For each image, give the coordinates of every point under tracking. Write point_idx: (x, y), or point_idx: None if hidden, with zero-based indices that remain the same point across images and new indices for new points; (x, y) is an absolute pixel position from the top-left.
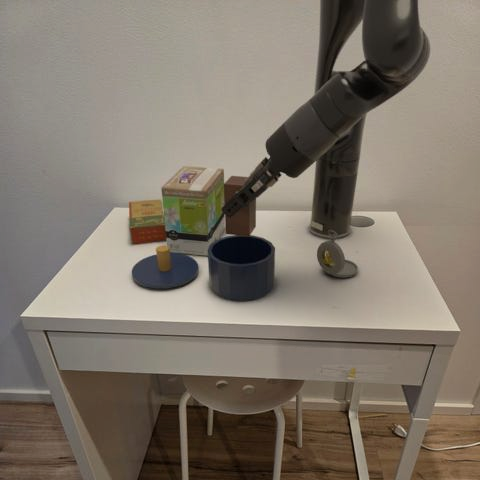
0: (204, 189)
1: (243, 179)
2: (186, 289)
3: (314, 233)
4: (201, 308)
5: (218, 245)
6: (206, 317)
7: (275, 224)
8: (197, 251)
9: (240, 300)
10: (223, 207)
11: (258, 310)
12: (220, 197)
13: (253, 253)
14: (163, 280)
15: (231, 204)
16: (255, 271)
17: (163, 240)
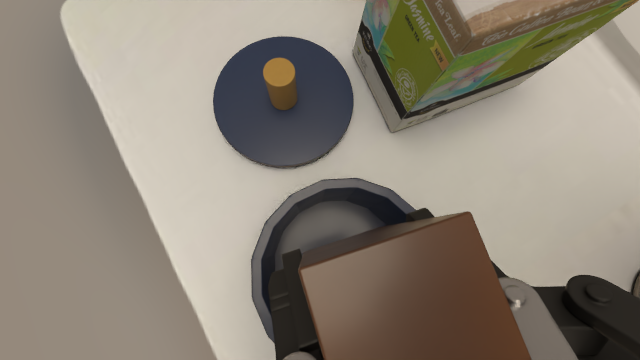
0: (479, 24)
1: (456, 342)
2: (257, 176)
3: (636, 288)
4: (215, 245)
5: (348, 190)
6: (194, 274)
7: (613, 172)
8: (382, 107)
9: None
10: (283, 264)
11: (268, 354)
12: (559, 42)
13: None
14: (243, 126)
15: (274, 328)
16: None
17: None
